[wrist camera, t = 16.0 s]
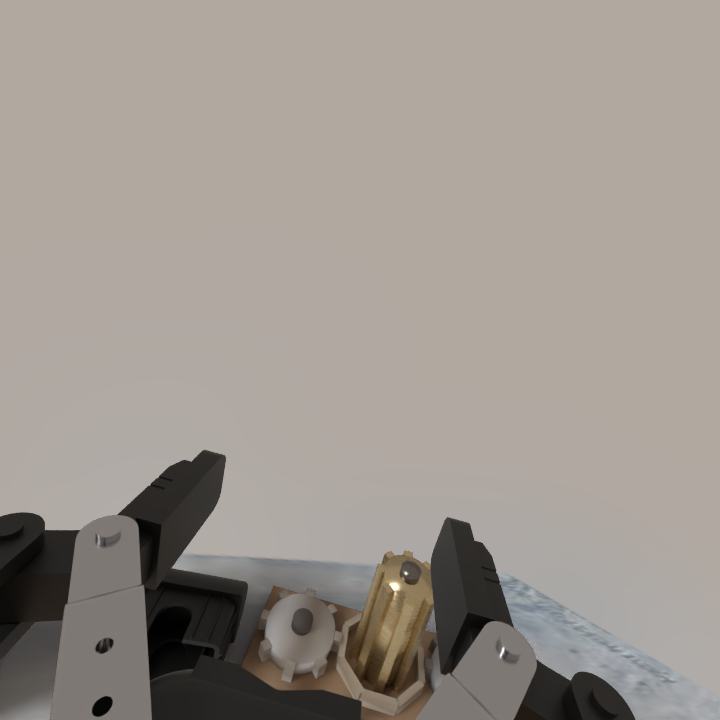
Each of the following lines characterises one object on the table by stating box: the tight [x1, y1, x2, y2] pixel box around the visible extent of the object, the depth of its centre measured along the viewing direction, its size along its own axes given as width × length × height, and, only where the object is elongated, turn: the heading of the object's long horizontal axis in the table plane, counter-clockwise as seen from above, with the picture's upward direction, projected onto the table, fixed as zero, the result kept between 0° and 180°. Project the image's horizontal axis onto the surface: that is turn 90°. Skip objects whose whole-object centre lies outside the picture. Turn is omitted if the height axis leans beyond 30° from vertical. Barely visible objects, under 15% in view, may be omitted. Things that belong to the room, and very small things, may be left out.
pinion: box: [350, 551, 434, 694], centre depth 35 cm, size 6×6×12 cm
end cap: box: [144, 569, 248, 681], centre depth 34 cm, size 10×7×7 cm
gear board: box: [241, 586, 446, 720], centre depth 36 cm, size 25×9×4 cm, turn 83°
